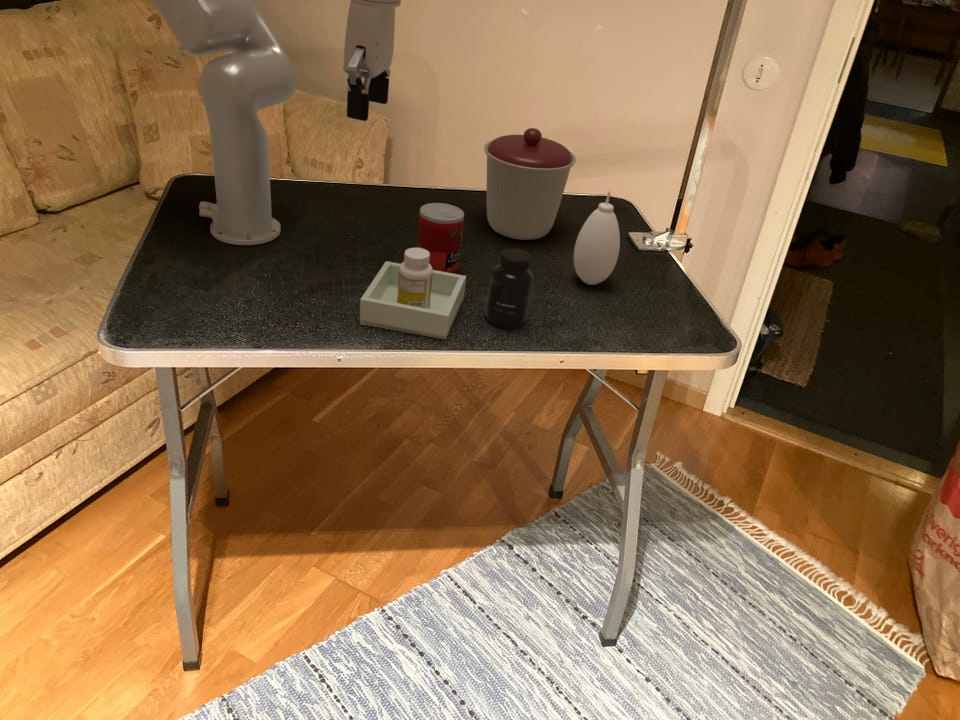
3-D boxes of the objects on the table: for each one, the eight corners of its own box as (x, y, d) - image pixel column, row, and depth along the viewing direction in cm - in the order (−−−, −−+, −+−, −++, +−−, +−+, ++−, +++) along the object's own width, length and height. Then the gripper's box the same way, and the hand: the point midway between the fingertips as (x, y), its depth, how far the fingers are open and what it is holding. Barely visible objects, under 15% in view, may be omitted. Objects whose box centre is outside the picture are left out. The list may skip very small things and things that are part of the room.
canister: (535, 257, 145) (553, 151, 133) (458, 229, 152) (468, 126, 140) (576, 230, 158) (595, 131, 147) (503, 205, 165) (516, 109, 154)
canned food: (453, 280, 134) (459, 223, 128) (410, 271, 135) (414, 215, 129) (462, 262, 140) (468, 207, 134) (421, 254, 141) (425, 199, 135)
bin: (359, 324, 118) (360, 299, 116) (384, 284, 130) (385, 261, 127) (445, 340, 117) (448, 316, 114) (463, 299, 128) (466, 276, 126)
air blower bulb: (561, 274, 141) (579, 182, 131) (598, 271, 143) (618, 181, 133) (580, 294, 135) (600, 200, 125) (618, 290, 137) (640, 198, 127)
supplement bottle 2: (495, 332, 121) (504, 266, 114) (478, 311, 126) (486, 246, 119) (533, 327, 123) (544, 262, 117) (515, 306, 128) (525, 243, 122)
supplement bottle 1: (411, 294, 126) (415, 242, 121) (436, 306, 124) (441, 253, 118) (390, 305, 122) (392, 252, 117) (415, 318, 120) (419, 264, 115)
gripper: (369, -22, 114) (362, 91, 124) (327, -7, 100) (324, 120, 110) (416, -13, 113) (406, 101, 123) (381, 4, 99) (373, 131, 109)
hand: (367, 110), depth 116 cm, fingers open, 9 cm apart
